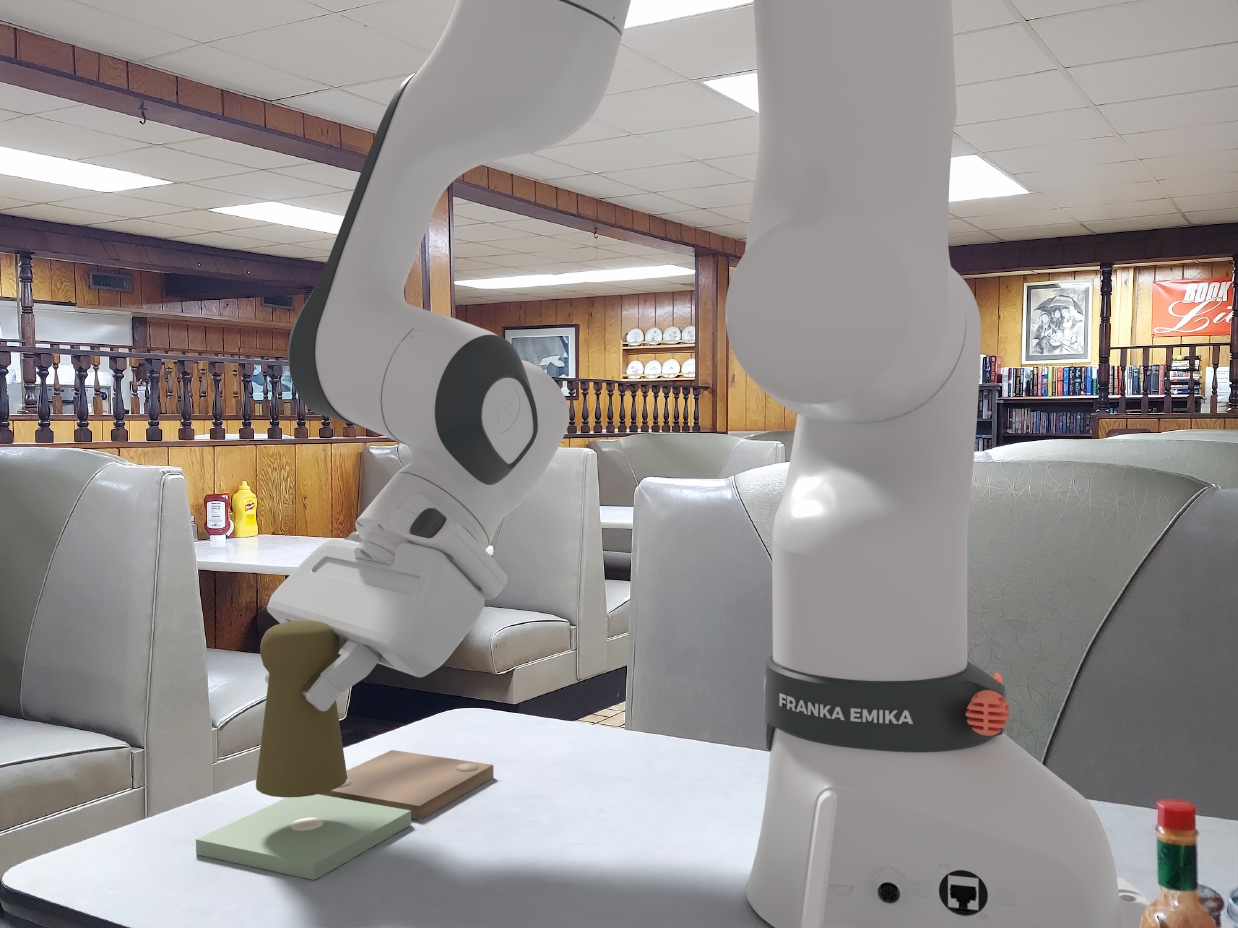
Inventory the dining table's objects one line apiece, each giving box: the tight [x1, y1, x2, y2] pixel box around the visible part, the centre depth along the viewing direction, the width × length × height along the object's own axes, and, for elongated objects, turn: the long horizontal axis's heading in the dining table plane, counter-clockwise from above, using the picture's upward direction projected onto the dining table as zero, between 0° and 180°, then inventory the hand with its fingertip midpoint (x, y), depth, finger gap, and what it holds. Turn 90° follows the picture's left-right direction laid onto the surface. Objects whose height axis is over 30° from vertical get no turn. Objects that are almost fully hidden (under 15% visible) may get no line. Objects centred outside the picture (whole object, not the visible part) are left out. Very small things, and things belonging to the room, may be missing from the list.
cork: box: [255, 620, 347, 799], centre depth 72 cm, size 6×6×11 cm
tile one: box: [195, 794, 412, 881], centre depth 72 cm, size 10×10×1 cm
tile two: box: [319, 749, 495, 821], centre depth 82 cm, size 10×10×1 cm
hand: (292, 696), depth 71 cm, fingers closed on cork, 4 cm apart
